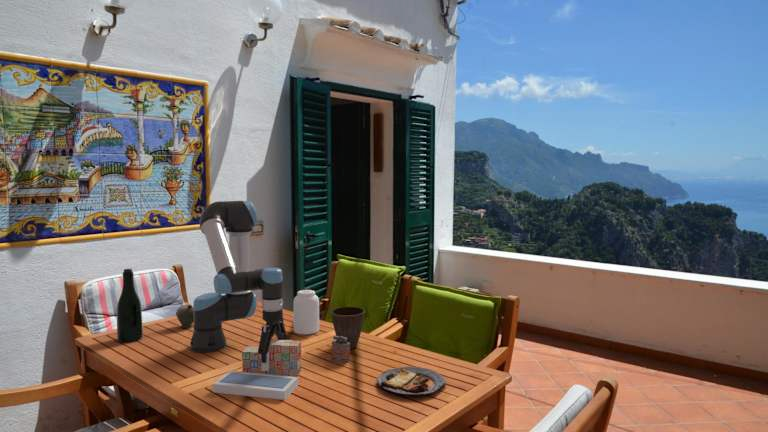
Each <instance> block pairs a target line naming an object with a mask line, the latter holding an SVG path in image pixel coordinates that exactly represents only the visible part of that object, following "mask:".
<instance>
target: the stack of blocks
mask: <svg viewBox="0 0 768 432" xmlns="http://www.w3.org/2000/svg"><path fill="white" fill-rule="evenodd" d="M258 348H259V346H247V347H245V349H243V351H242V352H241V357H242V358H241V360H242V361H241V362H242V363H241V364H242V367H241V368H242V372H249V373H259V374H269V375H280V376H290V377H298V378H299V374H301V372H302V341H301V340H293V339H287V340H278V339H271V343H270V346H269V350H268V353H269V371H261V354H258Z"/></svg>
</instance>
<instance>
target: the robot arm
mask: <svg viewBox="0 0 768 432" xmlns="http://www.w3.org/2000/svg"><path fill="white" fill-rule="evenodd" d="M257 213H258V212H257V210H256V206H255V205H254V203H252V201H249V200H231V201H230V200H229V201H228V200H227V201H225V200H224V201H223V200H221V201H213V202H212V203H210V204H208V205H206V207H205V208H204V209H203V211H202V212H201V214H200V218H199V228H200V231H201V233H202V234H203V235H204V237H205V239H206V242H207V246H208V248H209V251H210V255H211V258H212V261H213V265H214V268H215V271H216V274H215V276H214V277H213V288H214V292H208V293H204V294H201V295H198V296H196V297H195V298H194V300H193V303H192V304H193V305H192V307H193V311H194V322H193V326H194V327H193V334H192V336H191V339H190V342H189V343H190V344H189V348H190V351H191V352H194V353H211V352H216V351H221V350H222V349H224V348H226V346H227V339H226V335H225V333H224V330H223V324H222V323H224V322H227V321H236V320H237V321H238V320H244V319H247V318H252V317H253V316H254V314H255V313H256V310H257V304H258V303H257V302H258V300H257V295H256V293H255V292H254V291H259V290H261V299H262V300H261V302H262V303H261V306H262V307H261V308H262V313H261V314H262V320H263V321H265V325H264V326H263V325H262V326H261V333H260V339H259V343H258V347H259V348H258V354H261V371H269V353H268V350H269V346H270V343H271V340H273V339H272V338H273V337H274V336H275V337H276V338H277V340H288V338H287V337H288V335H287V331H286V326H285V323H284V315H283V314H284V312H283V307H284V306H283V304H284V301H283V279H284V278H283V270H282V269H281V268H279V267H268V268H267V267H266V268H256V269H254V270H251V271H249V270H250V269H249V268H250V265H249V263H250V259H249V258H250V234H251V233H252V232H253V231H254V230H253V228H254V227H257V224H258V214H257ZM224 229H225V230H224ZM225 232H226V233H225ZM226 234H228V239H227V236H226Z"/></svg>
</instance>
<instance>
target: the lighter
mask: <svg viewBox="0 0 768 432" xmlns="http://www.w3.org/2000/svg"><path fill="white" fill-rule="evenodd" d="M332 339H333V340H332V341H331V360H332V361H334V362H339V363H349V362H351V357H350V353H351V352H350V350H351V348H350V343H349V342H347V338H345V337H343V336H341V337H339V336H336V335H333V337H332ZM338 340H339V341H338Z"/></svg>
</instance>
